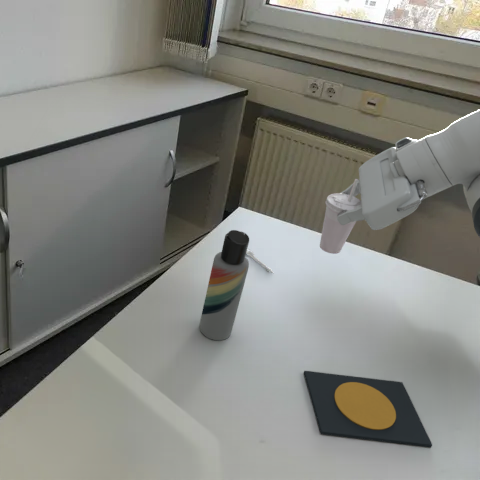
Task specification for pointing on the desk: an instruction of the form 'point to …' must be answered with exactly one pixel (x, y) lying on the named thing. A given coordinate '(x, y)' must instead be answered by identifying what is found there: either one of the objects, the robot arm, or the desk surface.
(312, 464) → the desk surface
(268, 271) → the white spoon
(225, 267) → the lotion bottle
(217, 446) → the desk surface
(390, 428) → the mat
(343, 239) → the smoothie
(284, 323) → the desk surface
